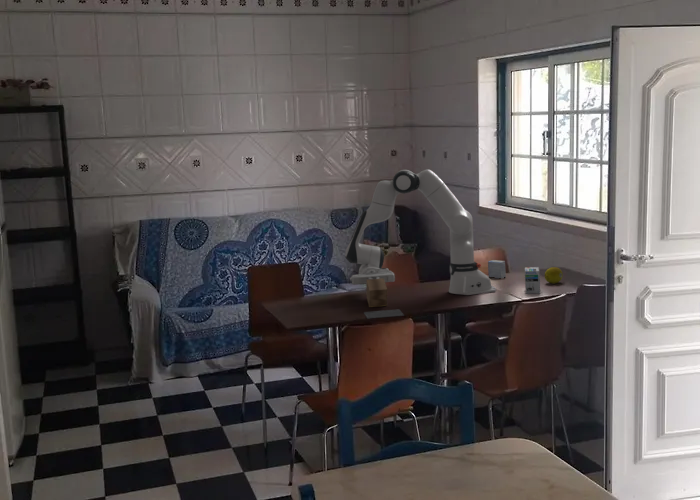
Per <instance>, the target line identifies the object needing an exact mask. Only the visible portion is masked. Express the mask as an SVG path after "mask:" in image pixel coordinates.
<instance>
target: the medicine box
mask: <svg viewBox="0 0 700 500" xmlns="http://www.w3.org/2000/svg"><path fill="white" fill-rule="evenodd" d="M487 269H488V270H487V273H488V274H487V276H488V277H495V278H494V279H499V278H502V279H505V278H506V275H507V274H506V261H505V260H496V259H492V260H489V261H487ZM504 277H505V278H504Z"/></svg>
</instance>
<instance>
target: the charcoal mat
mask: <svg viewBox="0 0 700 500" xmlns="http://www.w3.org/2000/svg"><path fill="white" fill-rule="evenodd" d="M363 314H364V316H365V318H366V319H367V320H368V319H369V320H370V319H380V318H391V317H402V316H403V317H404V316H405V314H404V313H403V312H402V311H401V309H399V308H398V309H397V308H396V309H386V310H385V309H384V310H373V311H364V312H363Z"/></svg>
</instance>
